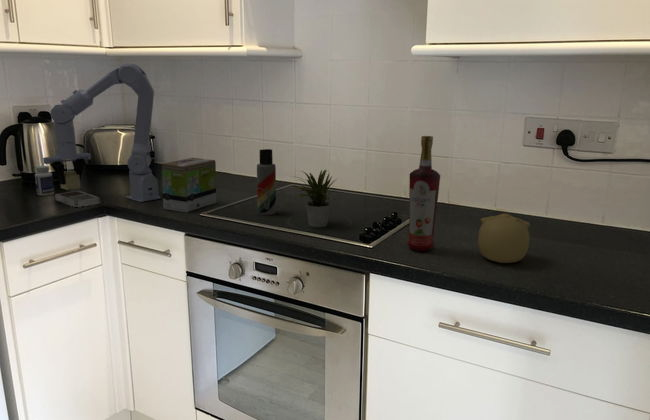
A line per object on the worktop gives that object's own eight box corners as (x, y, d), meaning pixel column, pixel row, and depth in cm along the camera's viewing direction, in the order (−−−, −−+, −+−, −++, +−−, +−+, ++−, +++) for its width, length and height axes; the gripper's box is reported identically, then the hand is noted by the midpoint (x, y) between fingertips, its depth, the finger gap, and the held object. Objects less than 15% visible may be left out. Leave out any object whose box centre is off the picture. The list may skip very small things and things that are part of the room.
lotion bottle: (259, 215, 160) (257, 150, 155) (256, 211, 165) (255, 147, 160) (277, 214, 162) (276, 149, 156) (274, 210, 167) (273, 147, 162)
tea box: (188, 213, 162) (185, 165, 158) (162, 209, 166) (159, 163, 162) (217, 202, 175) (216, 158, 172) (193, 199, 179) (191, 156, 176)
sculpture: (526, 253, 129) (531, 211, 127) (527, 270, 118) (533, 224, 116) (477, 248, 133) (481, 207, 130) (474, 264, 122) (479, 219, 119)
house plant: (298, 215, 161) (298, 162, 157) (343, 218, 159) (345, 164, 154) (287, 228, 147) (287, 171, 143) (336, 232, 145) (337, 173, 141)
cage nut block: (80, 187, 176) (78, 171, 174) (66, 189, 172) (64, 173, 171) (74, 185, 179) (72, 169, 177) (60, 187, 175) (58, 171, 174)
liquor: (438, 246, 134) (445, 135, 127) (431, 255, 127) (439, 139, 120) (409, 242, 137) (415, 134, 130) (402, 251, 130) (408, 137, 123)
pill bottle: (57, 192, 186) (54, 165, 184) (48, 196, 181) (45, 168, 179) (43, 192, 187) (39, 165, 184) (33, 195, 182) (30, 167, 179)
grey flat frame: (100, 203, 172) (99, 197, 172) (75, 208, 166) (75, 201, 166) (79, 196, 182) (78, 190, 181) (55, 200, 176) (54, 194, 175)
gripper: (82, 139, 179) (86, 178, 183) (37, 142, 169) (42, 184, 172) (92, 141, 175) (96, 181, 178) (46, 145, 164) (51, 187, 168)
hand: (70, 183), depth 175 cm, fingers closed on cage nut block, 4 cm apart
